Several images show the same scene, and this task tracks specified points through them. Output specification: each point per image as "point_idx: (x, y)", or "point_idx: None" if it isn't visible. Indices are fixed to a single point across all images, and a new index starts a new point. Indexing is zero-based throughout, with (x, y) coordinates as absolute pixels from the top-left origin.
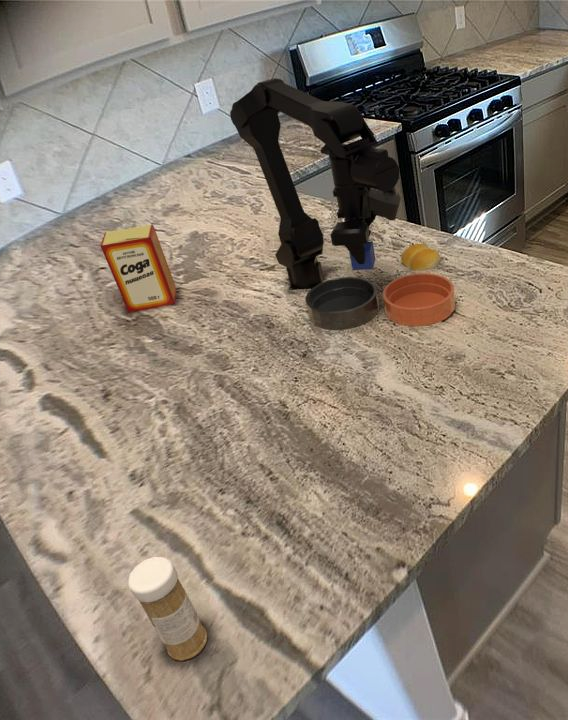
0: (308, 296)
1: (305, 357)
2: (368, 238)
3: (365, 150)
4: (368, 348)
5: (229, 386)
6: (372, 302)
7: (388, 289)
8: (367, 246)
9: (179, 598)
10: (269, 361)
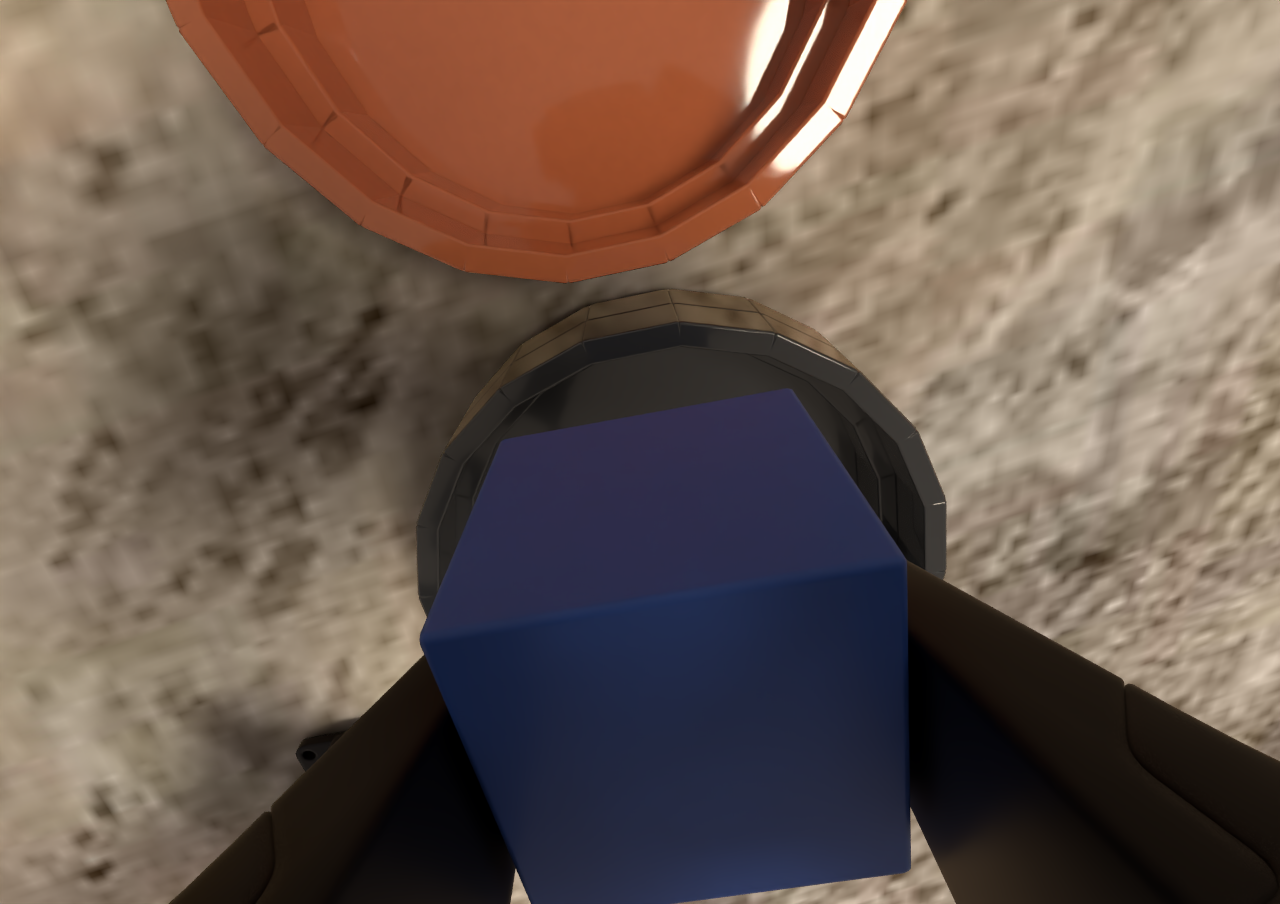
0: None
1: (1114, 549)
2: (340, 754)
3: None
4: (1085, 221)
5: (1274, 751)
6: (753, 323)
7: (526, 247)
8: (694, 663)
9: None
10: None
